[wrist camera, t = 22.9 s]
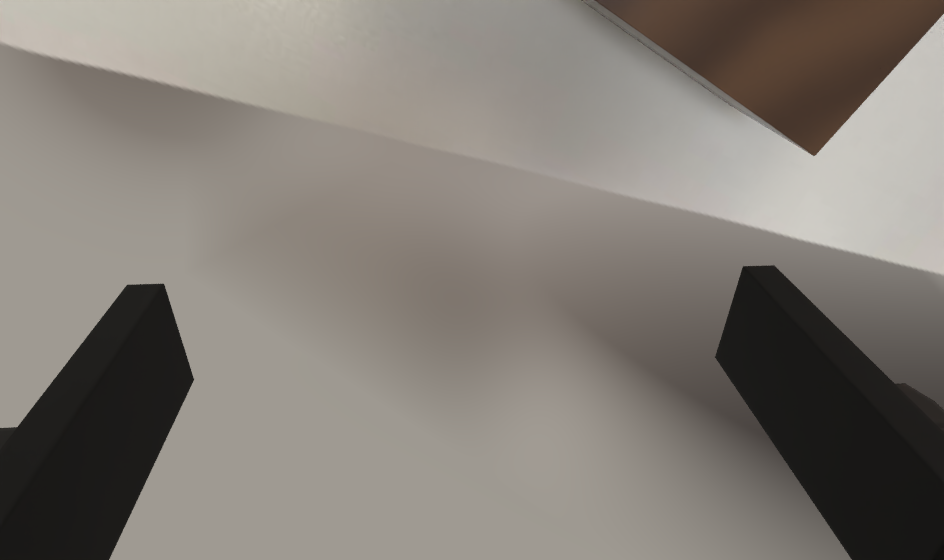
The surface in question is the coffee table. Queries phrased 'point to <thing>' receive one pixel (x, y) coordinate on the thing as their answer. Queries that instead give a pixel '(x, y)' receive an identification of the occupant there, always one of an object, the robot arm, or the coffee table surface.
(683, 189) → the coffee table surface
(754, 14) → the cabinet
